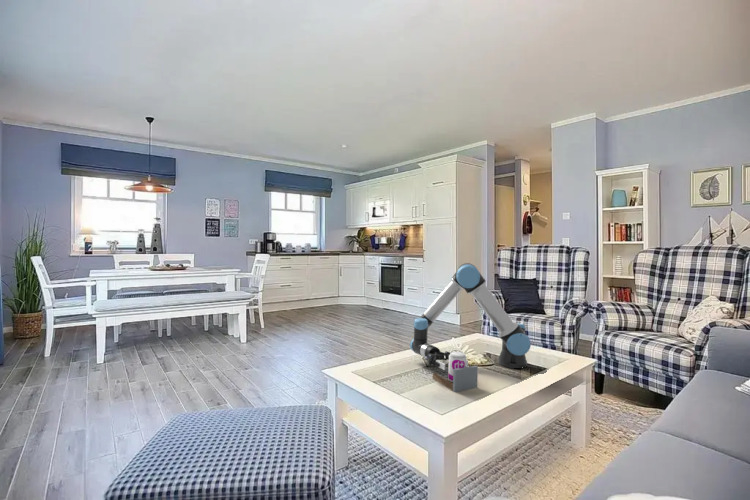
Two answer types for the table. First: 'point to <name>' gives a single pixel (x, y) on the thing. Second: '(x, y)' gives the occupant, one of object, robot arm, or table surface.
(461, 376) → the block
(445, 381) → the channel
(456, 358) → the supplement can
